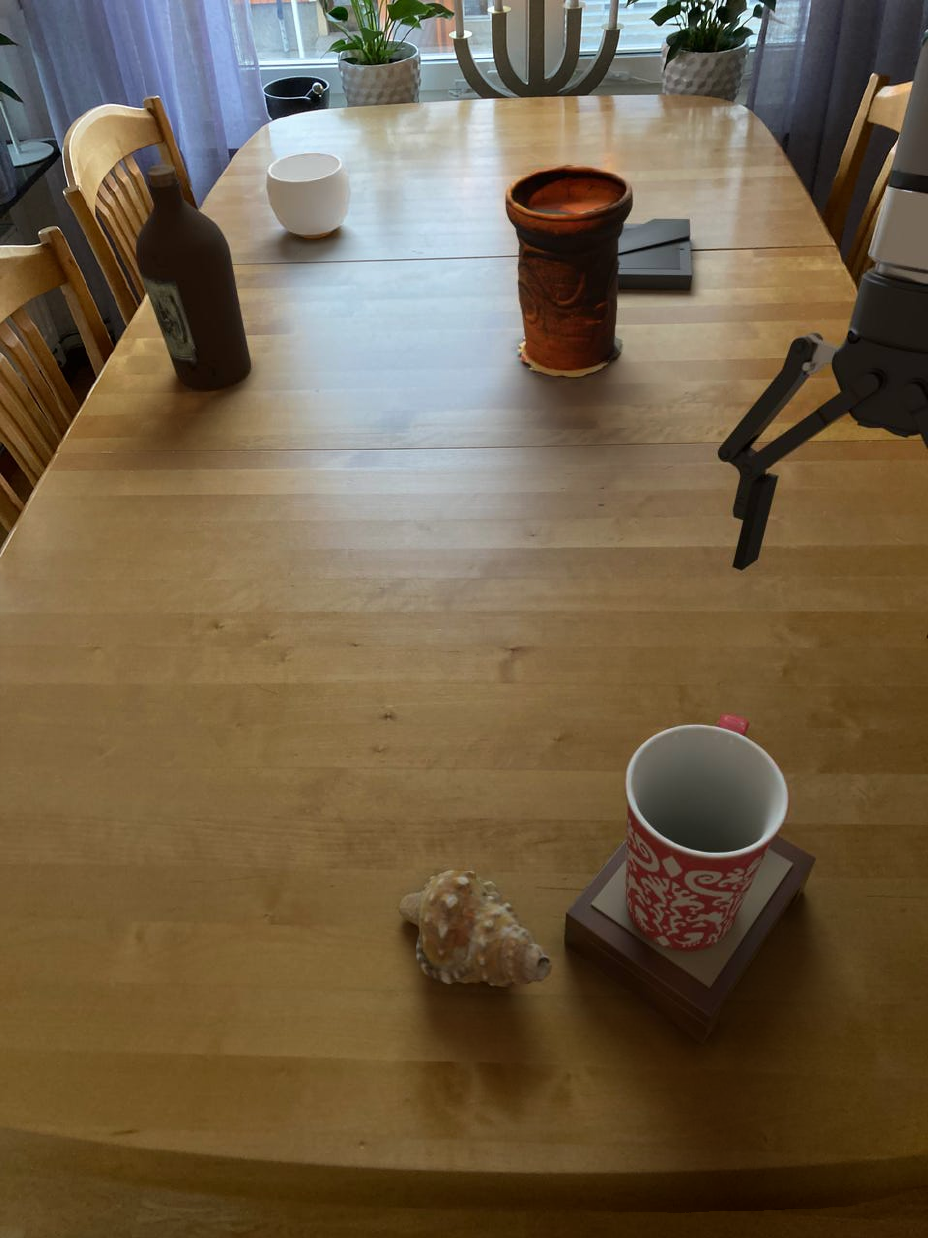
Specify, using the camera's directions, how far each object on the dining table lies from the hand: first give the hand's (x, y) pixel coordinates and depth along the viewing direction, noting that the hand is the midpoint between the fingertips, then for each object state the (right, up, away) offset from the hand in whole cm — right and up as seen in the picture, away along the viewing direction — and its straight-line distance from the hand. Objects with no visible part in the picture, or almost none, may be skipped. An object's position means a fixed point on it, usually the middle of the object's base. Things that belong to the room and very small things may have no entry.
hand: (836, 596), depth 66 cm
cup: (-49, +59, +84) cm, 113 cm away
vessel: (-13, +33, +56) cm, 66 cm away
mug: (-10, -19, -1) cm, 22 cm away
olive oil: (-57, +30, +57) cm, 86 cm away
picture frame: (-4, +49, +71) cm, 87 cm away
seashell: (-25, -25, +2) cm, 35 cm away
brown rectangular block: (-10, -23, +2) cm, 25 cm away
